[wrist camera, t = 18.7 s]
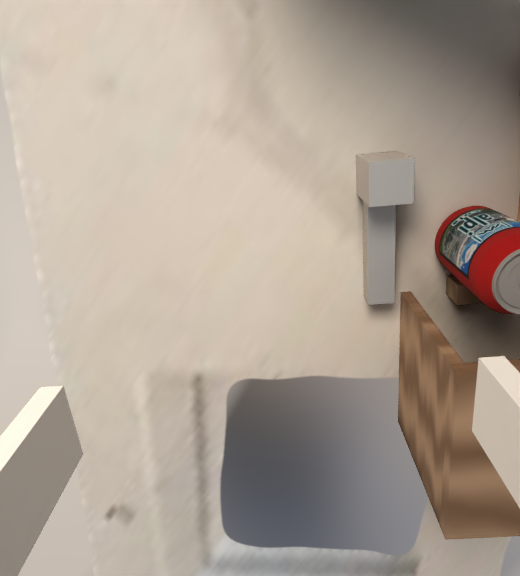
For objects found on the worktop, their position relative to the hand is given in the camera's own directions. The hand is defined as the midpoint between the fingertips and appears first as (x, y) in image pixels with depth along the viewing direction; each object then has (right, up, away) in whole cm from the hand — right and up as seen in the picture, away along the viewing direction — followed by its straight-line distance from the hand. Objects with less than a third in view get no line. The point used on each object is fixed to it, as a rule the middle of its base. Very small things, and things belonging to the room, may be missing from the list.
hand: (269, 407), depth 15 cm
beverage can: (+20, +9, +30) cm, 37 cm away
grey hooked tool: (+11, +10, +30) cm, 33 cm away
